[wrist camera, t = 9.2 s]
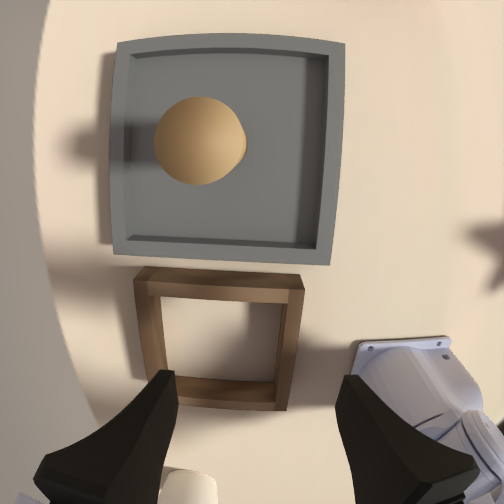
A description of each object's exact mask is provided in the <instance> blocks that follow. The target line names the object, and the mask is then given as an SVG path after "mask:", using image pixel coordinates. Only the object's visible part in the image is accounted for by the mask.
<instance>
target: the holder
mask: <svg viewBox="0 0 504 504" xmlns="http://www.w3.org/2000/svg"><path fill="white" fill-rule="evenodd" d="M133 284H134V293H135V302H136V310H137V318H138V325H139V332H140V338H141V345H142V351H143V357H144V363H145V368H146V374H147V379H148V383H149V382H150V380H151V379H152V378H153V377H154V376H155V374H156V373H157V372H158V371H159V370H160V369H163V370H168V367H167V359H166V351H165V342H164V333H163V323H162V313H161V301H160V296H165V297H177V298H191V299H206V300H222V301H240V302H260V303H283V306H282V315H281V325H280V334H279V343H278V351H277V360H276V368H275V377H274V382H246V381H228V380H214V379H202V378H191V377H182V376H175V381H176V388H177V395H178V402H179V405H188V406H197V407H207V408H219V409H234V410H256V411H286V410H287V405H288V399H289V393H290V387H291V382H292V376H293V370H294V363H295V357H296V351H297V344H298V337H299V330H300V323H301V316H302V309H303V302H304V294H305V288H304V285H303V282H302V279H301V277H300V275H297V274H275V273H253V272H234V271H215V270H197V269H180V268H164V267H148V266H145V267H144V268H143V269H142V270H141V271H140V273H139V274H138V275H137V276H136V277H135V278H134V280H133Z"/></svg>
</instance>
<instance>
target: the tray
mask: <svg viewBox="0 0 504 504" xmlns="http://www.w3.org/2000/svg"><path fill="white" fill-rule="evenodd" d="M344 95H345V44H344V43H338V42H332V41H326V40H319V39H311V38H303V37H294V36H283V35H269V34H247V33H209V34H187V35H173V36H163V37H153V38H145V39H138V40H131V41H125V42H119V43H117V50H116V58H115V66H114V76H113V86H112V99H111V115H110V142H109V184H110V212H111V229H112V242H113V254H115V255H132V256H149V257H167V258H185V259H204V260H223V261H242V262H263V263H284V264H305V265H328V266H330V260H331V252H332V245H333V237H334V228H335V219H336V210H337V200H338V190H339V179H340V167H341V153H342V138H343V120H344ZM192 97H209V98H213V99H216V100H218V101H220V102H222V103H224V104H225V105H227V106H228V107H229V108H230V109H231V110H232V111H233V112H234V113H235V115H236V116H237V118H238V120H239V122H240V124H241V126H242V128H243V130H244V133H245V135H246V137H247V142H248V148H247V152H246V155H245V156H244V158H243V159H242V161H241V162H240V163H239V164H237V165H236V166H235V167H234V168H233V169H232V170H231V171H230V172H229V173H228V174H226V175H225V176H224V177H222V178H221V179H219V180H217V181H215V182H212V183H209V184H204V185H190V184H185V183H182V182H179V181H177V180H176V179H174V178H172V177H171V176H170V175H168V174H167V173H166V172H165V171H164V169H163V168H162V167H161V165H160V164H159V162H158V159H157V157H156V154H155V149H154V135H155V131H156V128H157V125H158V123H159V121H160V119H161V118H162V116H163V115H164V114H165V112H166V111H167V110H168V109H169V108H171V107H172V106H173V105H175V104H176V103H178V102H180V101H182V100H184V99H187V98H192Z"/></svg>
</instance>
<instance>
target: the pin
mask: <svg viewBox="0 0 504 504" xmlns="http://www.w3.org/2000/svg"><path fill="white" fill-rule="evenodd" d="M247 148H248V142H247V137H246V135H245V133H244V130H243V128H242V126H241V124H240V122H239V120H238V118H237V116H236V115H235V113H234V112H233V111H232V110H231V109H230V108H229V107H228V106H227V105H225V104H224V103H222V102H220V101H218V100H216V99H213V98H209V97H192V98H187V99H184V100H182V101H180V102H178V103H176V104H175V105H173V106H172V107H171V108H169V109H168V110H167V111H166V112H165V114H164V115H163V116H162V118H161V119H160V121H159V123H158V125H157V128H156V131H155V135H154V149H155V154H156V157H157V159H158V162H159V164H160V165H161V167H162V168H163V169H164V171H165V172H166V173H167V174H168V175H170V176H171V177H172V178H174V179H176V180H177V181H179V182H182V183H185V184H190V185H204V184H209V183H212V182H215V181H217V180H219V179H221V178H222V177H224V176H225V175H226V174H228V173H229V172H230V171H231V170H232V169H233V168H234V167H235V166H236V165H237V164H239V163H240V162H241V161H242V159H243V158H244V156H245V155H246V152H247Z"/></svg>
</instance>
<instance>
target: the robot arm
mask: <svg viewBox="0 0 504 504" xmlns="http://www.w3.org/2000/svg"><path fill="white" fill-rule="evenodd" d="M438 342H439V343H438ZM437 343H438V344H437ZM450 344H451V338H450V337H448V336H447V337H436V338H423V339H408V340H391V341H367V342H362V343H360V344H359V346H358V349H357V353H356V357H355V360H354V364H353V367H352V371H351V374H350V375H344V379H343V382H342V385H341V389H340V392H339V395H338V398H337V402H336V405H335V411H336V418H337V424H338V428H339V432H340V435H341V438H342V442H343V445H344V448H345V452H346V455H347V458H348V462H349V465H350V469H351V474H352V480H353V486H354V494H355V502H356V504H504V436H503V435H502V433H501V432H500V430H499V429H498V428H497V427H496V425H495V424H494V423H493V422H492V421H491V420H490V419H489V418H488V416H486V415H485V414H484V413H483V398H482V394H481V391H480V388H479V386H478V384H477V383H476V381H475V380H474V379H473V377H472V376H471V375H470V374H469V372H468V371H467V370H466V369H465V367H464V366H463V365H462V363H461V362H460V361H459V360H458V358H457V357H456V356H455V355H454V354H453V352H452V351H451V350H450V349H449V346H450ZM370 346H372V347H371V348H369V349H368V347H370ZM178 405H179V402H178V395H177V388H176V381H175V373H174V371H172V370H163V369H160V370H159V371H158V372H157V373H156V374H155V376H154V377H153V378H152V379H151V380H150V382H149V383H148V384H147V385H146V386H145V387H144V389H143V390H142V391H141V392H140V393H139V394H138V395H137V396H136V397H135V398H134V399H133V401H132V402H131V403H129V404H128V405H127V406H126V407H125V408H124V409H123V410H122V411H121V412H120V413H119V414H118V415H117V416H115V417H114V418H113V419H112V420H111V421H109V422H108V423H107V424H105V425H104V426H103V427H101V428H100V429H98V430H97V431H95V432H94V433H92V434H91V435H89V436H87V437H86V438H84V439H82V440H80V441H78V442H76V443H74V444H72V445H70V446H68V447H66V448H63V449H61V450H58V451H55V452H53V453H50V454H47V455H45V457H44V458H43V460H42V461H41V464H40V465H39V468H38V469H37V472H36V474H35V476H34V478H33V480H34V483H35V485H36V486H37V487H38V488H39V490H41V492H42V493H43V494H44V495H45V496H46V497H47V498H48V499H49V500H50V504H157V502H158V494H159V487H160V480H161V474H162V469H163V464H164V461H165V457H166V454H167V450H168V447H169V444H170V440H171V437H172V434H173V430H174V427H175V423H176V417H177V411H178ZM14 504H44V503H42V502H40V501H38V500H36V499H34V498H32V497H29V496H28V495H26V494H24V493H22V492H20V493H19V494H18V496H17V498H16V501H15V502H14Z"/></svg>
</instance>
